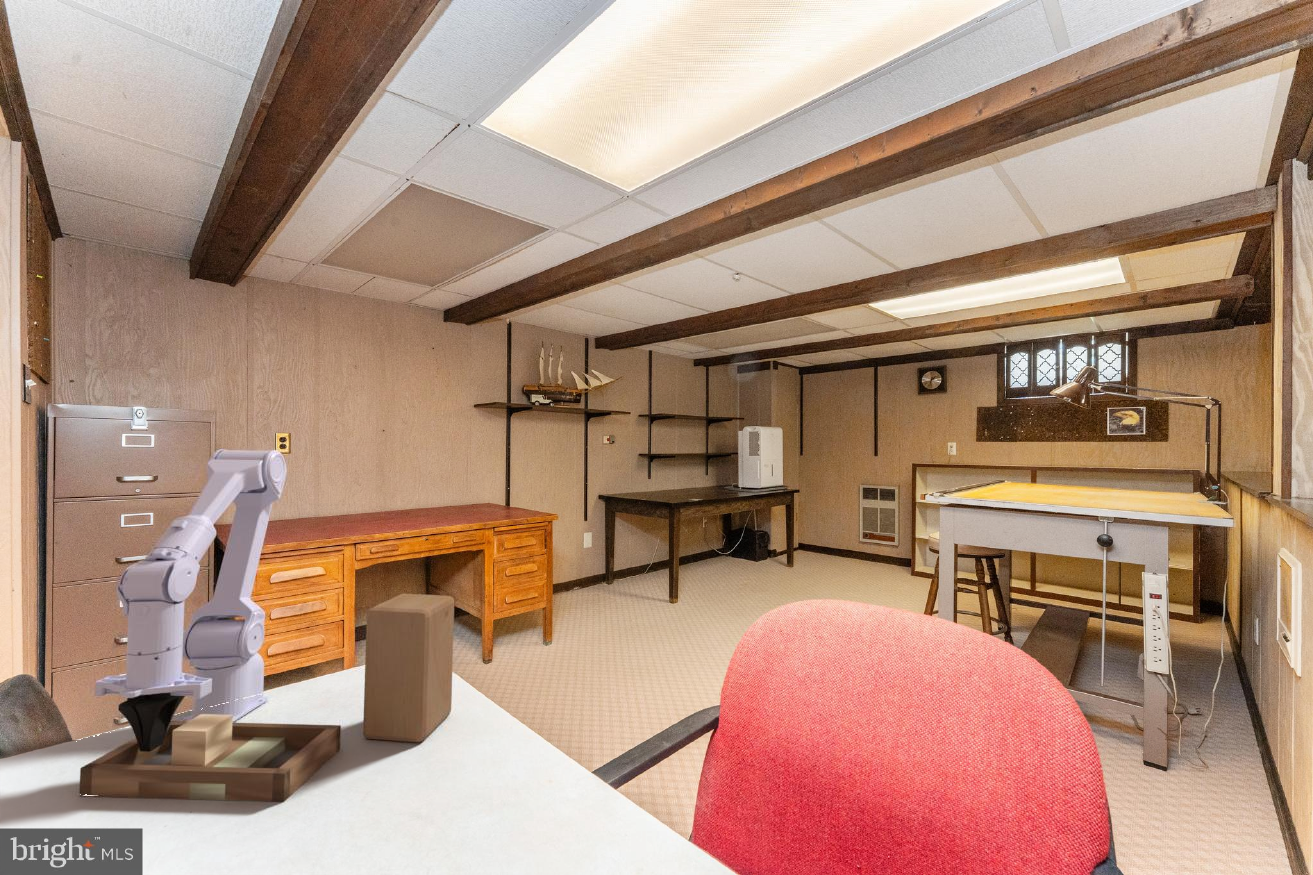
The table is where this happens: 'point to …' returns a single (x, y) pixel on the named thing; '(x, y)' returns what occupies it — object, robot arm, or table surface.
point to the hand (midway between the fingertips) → (151, 747)
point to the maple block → (201, 739)
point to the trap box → (218, 766)
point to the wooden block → (408, 667)
